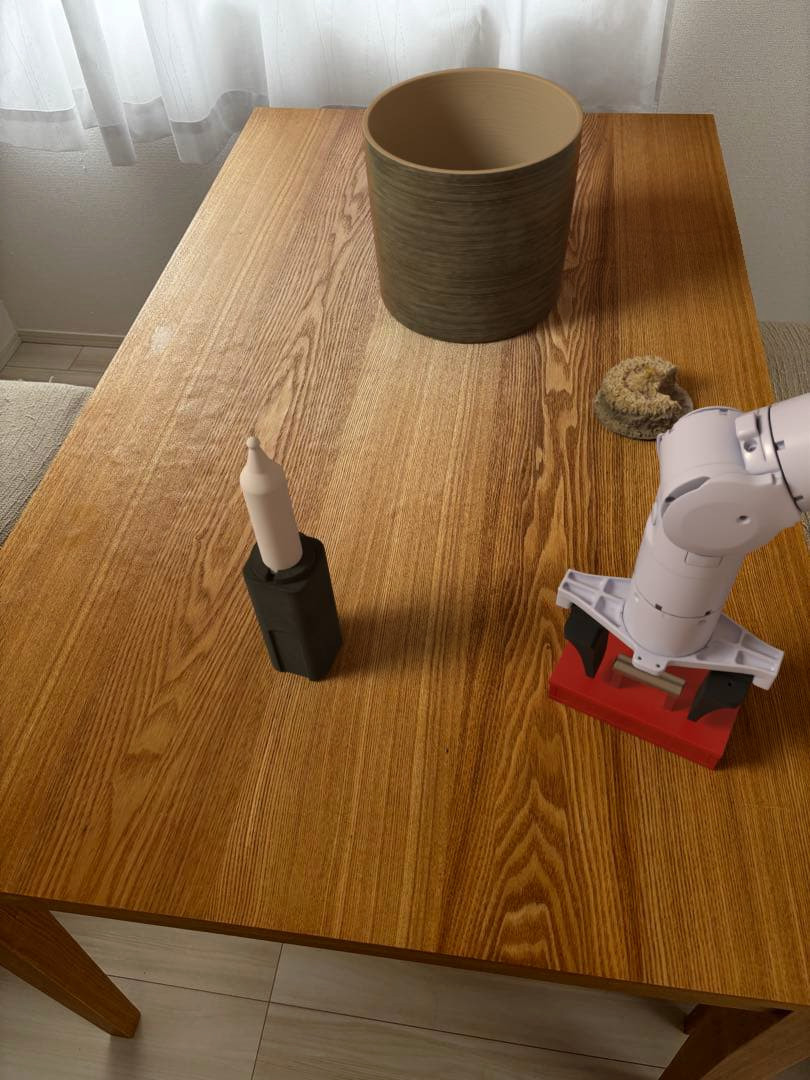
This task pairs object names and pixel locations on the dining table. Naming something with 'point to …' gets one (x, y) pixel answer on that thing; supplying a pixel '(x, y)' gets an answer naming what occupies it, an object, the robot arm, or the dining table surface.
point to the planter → (472, 199)
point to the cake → (641, 398)
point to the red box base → (633, 728)
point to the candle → (287, 575)
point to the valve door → (646, 695)
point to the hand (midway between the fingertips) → (643, 687)
